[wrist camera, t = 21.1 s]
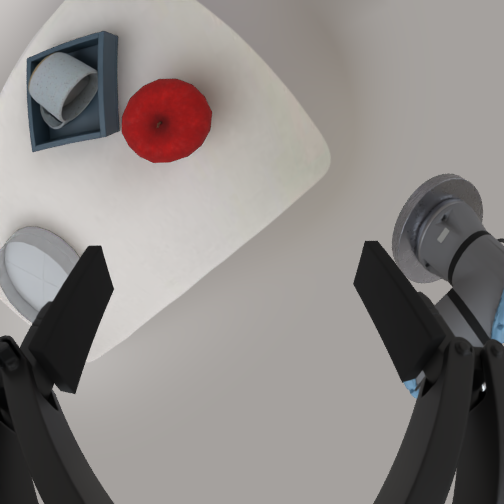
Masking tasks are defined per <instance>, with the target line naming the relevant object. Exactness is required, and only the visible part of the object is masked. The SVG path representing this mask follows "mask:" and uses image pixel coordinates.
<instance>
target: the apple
mask: <svg viewBox="0 0 504 504" xmlns="http://www.w3.org/2000/svg"><path fill="white" fill-rule="evenodd" d="M211 117H212V111H211V109H210V107H209V105H208V103H207V101H206V99H205V97H204V95H202V94H201V93H200V92H199V91H198V90H197V89H196V88H195V87H194V86H193V85H192V84H189V83H187V82H184V81H181V80H178V79H158V80H156V81H154V82H151V83H149V84H147V85H145V86H143V87H142V88H141V89H139V90H138V91H137V92H136V93H135V94H134V95H133V96H132V97H131V98H130V100H129V102H128V104H127V106H126V109H125V111H124V113H123V116H122V134H123V136H124V138H125V140H126V141H127V143H128V145H129V147H130V148H131V149H132V150H133V151H134V152H135V153H136V154H137V155H138V156H140V157H142V158H144V159H146V160H148V161H151V162H153V163H162V162H172V161H175V160H178V159H181V158H184V157H188V156H189V155H190V154H192V153H193V152H194V151H195V150H196V149H198V148H199V147H200V146H202V144H203V142H204V140H205V138H206V137H207V135H208V133H209V131H210V128H211Z"/></svg>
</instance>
